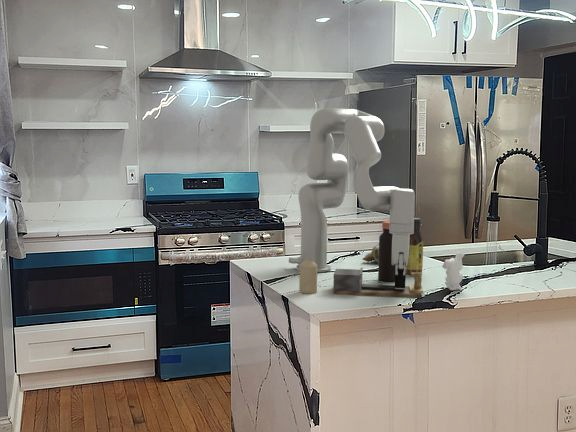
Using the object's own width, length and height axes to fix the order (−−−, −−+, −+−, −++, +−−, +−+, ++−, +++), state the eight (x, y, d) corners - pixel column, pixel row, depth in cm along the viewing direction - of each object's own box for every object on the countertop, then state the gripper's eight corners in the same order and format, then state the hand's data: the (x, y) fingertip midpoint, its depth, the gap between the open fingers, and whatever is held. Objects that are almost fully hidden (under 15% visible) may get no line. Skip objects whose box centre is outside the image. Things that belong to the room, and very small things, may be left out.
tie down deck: (333, 294, 209) (333, 273, 208) (335, 286, 220) (336, 266, 219) (423, 297, 205) (424, 276, 204) (421, 289, 216) (422, 269, 215)
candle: (298, 289, 214) (298, 258, 213) (315, 289, 214) (316, 258, 213) (300, 294, 208) (300, 262, 207) (317, 293, 209) (318, 262, 208)
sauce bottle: (422, 275, 237) (424, 219, 235) (404, 274, 238) (406, 219, 236) (422, 272, 244) (424, 217, 241) (404, 271, 245) (406, 217, 242)
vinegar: (385, 283, 225) (387, 223, 222) (374, 279, 231) (375, 221, 228) (402, 281, 228) (404, 222, 226) (390, 277, 234) (392, 220, 232)
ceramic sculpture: (402, 239, 263) (386, 246, 251) (402, 260, 265) (386, 269, 252) (377, 236, 269) (360, 244, 257) (377, 258, 270) (360, 266, 258)
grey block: (361, 288, 211) (361, 265, 210) (361, 285, 215) (362, 263, 214) (404, 290, 209) (405, 267, 208) (404, 287, 213) (405, 264, 212)
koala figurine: (457, 286, 222) (458, 250, 220) (471, 290, 216) (473, 253, 214) (436, 288, 218) (438, 251, 216) (450, 292, 212) (452, 255, 210)
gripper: (389, 224, 218) (387, 280, 220) (389, 231, 201) (387, 291, 203) (412, 225, 217) (410, 280, 219) (415, 232, 200) (413, 292, 202)
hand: (399, 285), depth 211 cm, fingers closed on grey block, 4 cm apart
